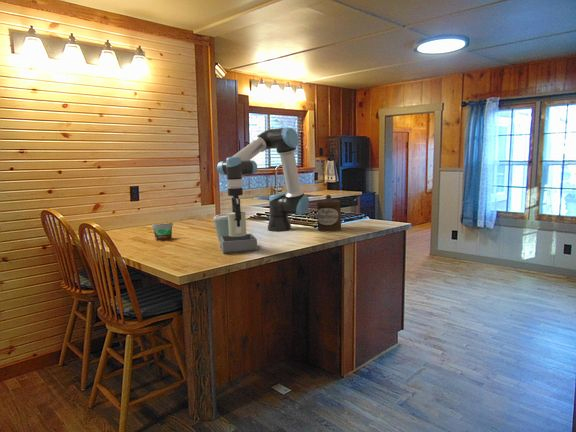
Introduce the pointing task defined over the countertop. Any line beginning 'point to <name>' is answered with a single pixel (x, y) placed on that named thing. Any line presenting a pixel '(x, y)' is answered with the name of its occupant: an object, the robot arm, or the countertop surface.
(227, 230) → the disposable coffee cup
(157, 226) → the food container
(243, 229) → the can
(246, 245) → the tub
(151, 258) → the countertop surface
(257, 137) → the robot arm
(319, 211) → the wooden container
